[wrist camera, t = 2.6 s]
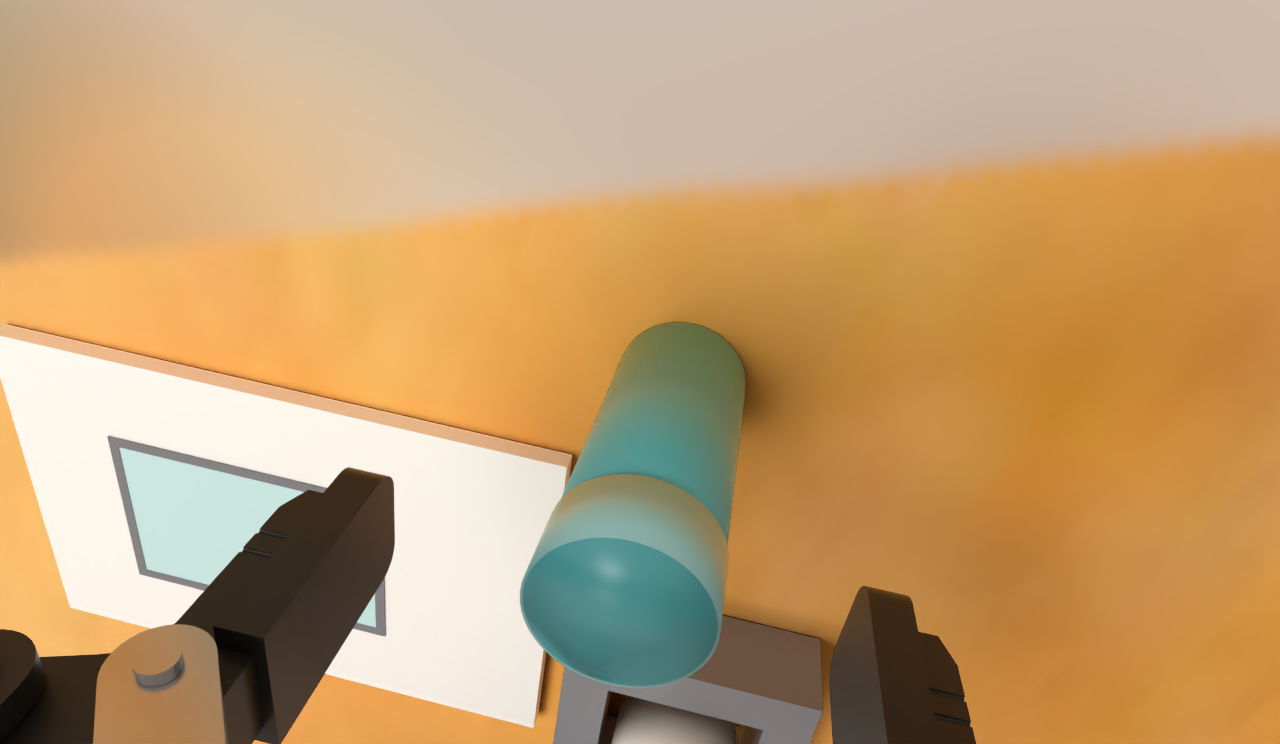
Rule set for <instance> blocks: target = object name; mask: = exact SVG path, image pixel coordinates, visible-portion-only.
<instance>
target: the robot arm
mask: <svg viewBox="0 0 1280 744" xmlns="http://www.w3.org/2000/svg"><path fill="white" fill-rule="evenodd" d="M394 546H395V520H394V483H393V480H392V478H391V477H389V476H385V475H381V474H377V473H372V472H368V471H363V470H359V469H355V468H350V467H348V468H345V469H344V470H342V471H341V472H340V473H339V475H338V476H337V477H336V478H335V479H334V481H333V482H332V483H331V484H330V485H329V487H328V488H327V489H326V490H325V491H324V493H321V492H316V491H312V490H307V491H305V492H304V493H302V494H300V495H298V496H297V497H295V498H293V499H292V500H290V501H288V502H286V503H285V504H283V505H281V506H279V508H278V509H277V510H276V511H275V512H274V513H273V514H272V515H271V517H270V518H269V519H268V520H267V521H266V522H265V523H264V524H263V526H262V527H261V528H260V531H259V533H255V534H254V536H253V537H252V538H251V539H250V540H249V541H248V542H247V543H246V545H245V546H244V547H243V551H242V552H238V554H237V555H236V556H235V557H234V558H233V559H232V560H231V561H230V563H229V564H228V565H227V566H226V567H225V568H224V569H223V570H222V572H221V573H220V574H219V575H218V576H217V577H216V578H215V579H214V580H213V582H212V583H211V584H210V585H209V586H208V587H207V588H206V589H205V591H204V592H203V593H202V594H201V595H200V596H199V597H198V598H197V600H196V601H195V602H194V603H193V604H192V605H191V606H190V607H189V609H188V610H187V611H186V612H185V613H184V614H183V615H182V616H181V618H180V619H179V620H178V621H177V622H176V623H175V624H174V625H165V626H160V627H156V628H153V629H149V630H147V631H144V632H142V633H139V634H137V635H135V636H134V637H132V638H130V639H128V640H127V641H125V642H124V643H122V644H121V645H120V646H119V647H117V648H116V649H115V650H114V651H113V652H112V653H108V654H98V655H77V656H56V657H39V656H38V653H37V650H36V648H35V645H34V644H33V642H32V640H31V639H30V638H28V637H27V636H26V635H24V634H22V633H20V632H16V631H12V630H4V629H1V630H0V744H252V743H253V741H254V740H258V741H262V742H266V743H270V744H281V743H282V741H283V739H284V738H285V736H286V735H287V733H288V731H289V730H290V728H291V727H292V725H293V723H294V722H295V720H296V719H297V717H298V715H299V714H300V712H301V711H302V709H303V707H304V706H305V704H306V703H307V701H308V699H309V698H310V696H311V695H312V693H313V691H314V690H315V688H316V687H317V685H318V683H319V682H320V680H321V679H322V677H323V676H324V674H325V672H326V671H327V669H328V668H329V666H330V664H331V663H332V661H333V660H334V658H335V656H336V655H337V653H338V652H339V650H340V648H341V647H342V645H343V644H344V642H345V640H346V639H347V637H348V636H349V634H350V632H351V631H352V629H353V628H354V626H355V624H356V623H357V621H358V620H359V618H360V616H361V615H362V613H363V612H364V610H365V608H366V607H367V605H368V604H369V602H370V600H371V599H372V597H373V596H374V594H375V592H376V591H377V589H378V588H379V586H380V585H381V583H382V581H383V580H384V578H385V576H386V574H387V572H388V569H389V567H390V564H391V561H392V557H393V553H394ZM829 687H830V704H831V720H832V737H833V744H976V741H975V737H974V733H973V729H972V727H970V722H971V720H970V716H969V712H968V708H967V704H966V702H964V697H965V695H964V691H963V687H962V683H961V679H960V674H959V670H958V666H957V664H956V663H955V661H954V660H953V658H952V657H951V655H950V654H949V652H948V651H947V649H946V648H945V646H944V645H943V643H942V642H941V640H940V639H939V637H938V636H934V635H930V634H925V633H921V632H918V629H917V624H916V619H915V613H914V608H913V604H912V601H911V599H910V597H909V596H906V595H902V594H897V593H893V592H888V591H884V590H880V589H875V588H871V587H866V586H862V587H861V588H860V589H859V591H858V593H857V595H856V597H855V600H854V602H853V605H852V607H851V610H850V612H849V615H848V617H847V619H846V622H845V624H844V627H843V629H842V632H841V634H840V637H839V639H838V641H837V644H836V646H835V649H834V653H833V657H832V662H831V668H830V680H829Z"/></svg>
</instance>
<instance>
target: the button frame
mask: <svg viewBox="0 0 1280 744" xmlns="http://www.w3.org/2000/svg"><path fill="white" fill-rule="evenodd" d="M611 691H612V692H616V693H620V694H624V695H628V696H631V697H635V698H639V699H643V700H647V701H651V702H655V703H659V704H663V705H667V706H671V707H675V708H679V709H683V710H686V711H690V712H694V713H698V714H702V715H706V716H710V717H714V718H718V719H722V720H726V721H730V722H734V723H738V724H741V725H743V728H742V731H741V734H740V737H739V740H738V743H737V744H810V741H811V739H812V737H813V734H814V732H815V729H816V727H817V725H818V722H819V720H820V717H821V715H822V713H823V700H822V674H821V647H820V639H818V638H814V637H809V636H805V635H801V634H797V633H793V632H789V631H785V630H781V629H777V628H773V627H768V626H764V625H760V624H756V623H752V622H748V621H744V620H740V619H736V618H732V617H727V616H722V625H721V633H720V638H719V642H718V645H717V647H716V650H715V651H714V653H713V655H712V656H711V658H710V659H709V660H708V661H707V663H706V664H705V665H704V666H703V667H702V668H700V669H699V670H698V671H697V672H695V673H694V674H692V675H690V676H689V677H687V678H685V679H682V680H680V681H678V682H675V683H672V684H668V685H664V686H659V687H651V688H627V687H618V686H613V685H609V684H604V683H601V682H598V681H594V680H592V679H589V678H587V677H584V676H582V675H580V674H578V673H576V672H574V671H572V670H570V669H568V668H567V667H565V669H564V675H563V682H562V688H561V695H560V702H559V708H558V715H557V722H556V728H555V735H554V741H553V744H611V743H612V739H613V734H614V730H615V726H616V721H617V717H613V716H610V715H607V711H608V706H609V701H610V696H611Z"/></svg>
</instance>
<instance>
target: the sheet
mask: <svg viewBox="0 0 1280 744" xmlns="http://www.w3.org/2000/svg"><path fill="white" fill-rule="evenodd" d="M0 378H1V381H2V385H3V388H4V391H5V394H6V398H7V401H8V404H9V408H10V411H11V414H12V418H13V421H14V424H15V427H16V431H17V434H18V437H19V441H20V444H21V447H22V450H23V454H24V457H25V460H26V464H27V467H28V470H29V473H30V477H31V480H32V483H33V487H34V490H35V493H36V497H37V500H38V503H39V506H40V510H41V513H42V516H43V520H44V523H45V526H46V529H47V533H48V536H49V539H50V543H51V546H52V549H53V552H54V556H55V559H56V562H57V566H58V569H59V572H60V576H61V579H62V582H63V585H64V589H65V592H66V595H67V599H68V602H69V605H70V607H71V608H74V609H78V610H82V611H86V612H90V613H94V614H97V615H101V616H105V617H109V618H113V619H117V620H121V621H124V622H128V623H132V624H136V625H140V626H144V627H147V628H151V629H153V628H156V627H160V626H165V625H174V624H175V623H176V622H177V621H178V620H179V619H180V618H181V616H182V615H183V614H184V613H185V612H186V611H187V610H188V609H189V607H190V606H191V605H192V604H193V603H194V602H195V601H196V600H197V598H198V597H199V596H200V595H201V594H202V593H203V592H204V591H205V589H206V588H207V587H208V586H209V585H210V584H211V583H212V582H213V580H214V579H215V578H216V577H217V576H218V575H219V574H220V573H221V572H222V570H223V569H224V568H225V567H226V566H227V565H228V564H229V563H230V561H231V560H232V559H233V558H234V557H235V556H236V555H237V554H238V552H242V551H243V547H244V546H245V545H246V543H247V542H248V541H249V540H250V539H251V538H252V537H253V536H254V534H255V533H259V531H260V528H261V527H262V526H263V524H264V523H265V522H266V521H267V520H268V519H269V518H270V517H271V515H272V514H273V513H274V512H275V511H276V510H277V509H278V508H279V506H281V505H283V504H285V503H286V502H288V501H290V500H292V499H293V498H295V497H297V496H298V495H300V494H302V493H304V492H305V491H307V490H312V491H316V492H321V493H324V491H325V490H326V489H327V488H328V487H329V485H330V484H331V483H332V482H333V481H334V479H335V478H336V477H337V476H338V475H339V473H340V472H341V471H342V470H344V469H345V468H348V467H350V468H355V469H359V470H363V471H368V472H372V473H377V474H381V475H385V476H389V477H391V478H392V480H393V483H394V520H395V546H394V553H393V557H392V561H391V564H390V567H389V569H388V572H387V574H386V576H385V578H384V580H383V581H382V583H381V585H380V586H379V588H378V589H377V591H376V592H375V594H374V596H373V597H372V599H371V600H370V602H369V604H368V605H367V607H366V608H365V610H364V612H363V613H362V615H361V616H360V618H359V620H358V621H357V623H356V624H355V626H354V628H353V629H352V631H351V632H350V634H349V636H348V637H347V639H346V640H345V642H344V644H343V645H342V647H341V648H340V650H339V652H338V653H337V655H336V656H335V658H334V660H333V661H332V663H331V664H330V666H329V668H328V669H327V671H326V672H325V674H328V675H332V676H335V677H339V678H343V679H347V680H351V681H355V682H358V683H362V684H366V685H370V686H374V687H378V688H381V689H385V690H389V691H393V692H397V693H401V694H404V695H408V696H412V697H416V698H420V699H424V700H428V701H431V702H435V703H439V704H443V705H447V706H451V707H454V708H458V709H462V710H466V711H470V712H474V713H477V714H481V715H485V716H489V717H493V718H497V719H500V720H504V721H508V722H512V723H516V724H520V725H523V726H527V727H531V728H534V725H535V722H536V719H537V716H538V713H539V706H540V698H541V691H542V683H543V675H544V668H545V660H546V653H547V652H546V651H545V650H544V649H543V648H542V647H541V646H540V645H539V644H538V642H537V641H536V640H535V639H534V637H533V636H532V634H531V633H530V631H529V629H528V627H527V625H526V623H525V621H524V618H523V615H522V612H521V606H520V589H521V583H522V580H523V578H524V575H525V573H526V570H527V568H528V566H529V564H530V561H531V559H532V557H533V554H534V552H535V550H536V548H537V545H538V543H539V541H540V539H541V536H542V534H543V532H544V529H545V527H546V525H547V523H548V520H549V518H550V516H551V513H552V511H553V510H554V508H555V506H556V505H557V503H558V502H559V501H560V500H561V497H562V495H563V493H564V491H565V488H566V486H567V484H568V481H569V478H570V470H571V463H572V454H567V453H563V452H559V451H554V450H550V449H546V448H541V447H537V446H533V445H528V444H524V443H520V442H515V441H511V440H507V439H502V438H498V437H494V436H489V435H485V434H481V433H476V432H472V431H468V430H463V429H459V428H455V427H450V426H446V425H442V424H437V423H433V422H429V421H424V420H420V419H416V418H411V417H407V416H403V415H398V414H394V413H390V412H385V411H381V410H377V409H372V408H368V407H364V406H359V405H355V404H351V403H346V402H342V401H338V400H333V399H329V398H325V397H320V396H316V395H312V394H307V393H303V392H299V391H294V390H290V389H286V388H281V387H277V386H273V385H268V384H264V383H260V382H255V381H251V380H246V379H242V378H238V377H233V376H229V375H225V374H220V373H216V372H212V371H207V370H203V369H199V368H194V367H190V366H186V365H181V364H177V363H173V362H168V361H164V360H160V359H155V358H151V357H147V356H142V355H138V354H134V353H129V352H125V351H121V350H116V349H112V348H108V347H103V346H99V345H95V344H90V343H86V342H82V341H77V340H73V339H69V338H64V337H60V336H56V335H51V334H47V333H43V332H38V331H34V330H30V329H25V328H21V327H17V326H12V325H8V324H4V325H2V326H0Z"/></svg>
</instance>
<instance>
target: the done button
mask: <svg viewBox="0 0 1280 744" xmlns="http://www.w3.org/2000/svg"><path fill="white" fill-rule="evenodd" d="M611 744H736V731H735V727H734V724H733V722H730V721H726V720H722V719H718V718H714V717H710V716H706V715H702V714H698V713H694V712H690V711H686V710H683V709H679V708H675V707H671V706H667V705H663V704H659V703H655V702H651V701H647V700H643V699H639V698H635V697H631V696H630V697H629V698H628V699H627V700H626V701H625V702H624V703H623V704H622V706H621V708H620V710H619V713H618V717H617V721H616V726H615V730H614V734H613V739H612V743H611Z"/></svg>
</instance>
